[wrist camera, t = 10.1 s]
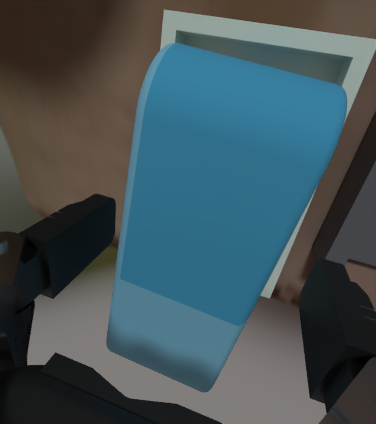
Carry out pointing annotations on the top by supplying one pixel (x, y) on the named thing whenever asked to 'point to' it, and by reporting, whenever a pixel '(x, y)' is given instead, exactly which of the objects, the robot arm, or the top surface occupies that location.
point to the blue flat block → (212, 202)
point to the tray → (277, 61)
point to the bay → (353, 210)
